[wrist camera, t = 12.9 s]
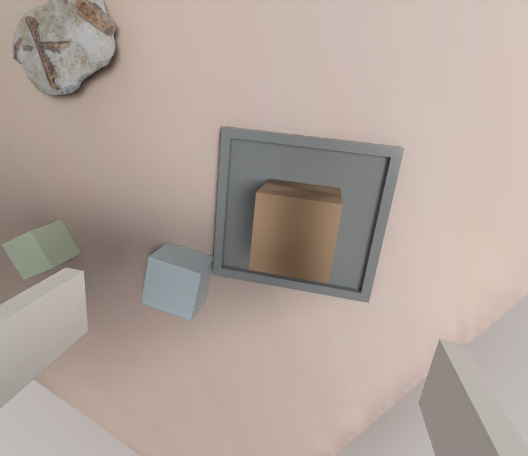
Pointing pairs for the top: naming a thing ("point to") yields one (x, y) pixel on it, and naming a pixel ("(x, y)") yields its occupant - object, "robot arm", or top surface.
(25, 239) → the block sage
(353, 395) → the top surface
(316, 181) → the tray
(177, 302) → the block bluegrey
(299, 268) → the block walnut
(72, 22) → the stone
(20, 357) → the robot arm
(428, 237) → the top surface
